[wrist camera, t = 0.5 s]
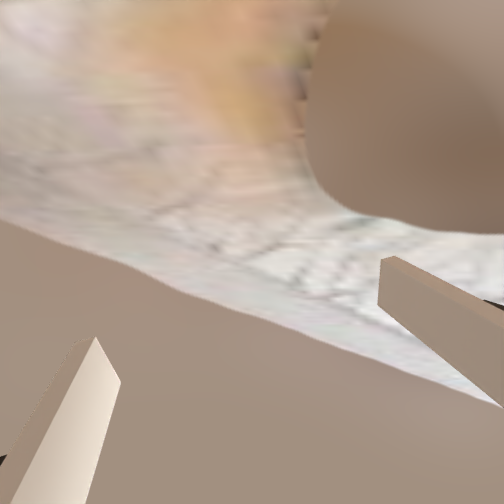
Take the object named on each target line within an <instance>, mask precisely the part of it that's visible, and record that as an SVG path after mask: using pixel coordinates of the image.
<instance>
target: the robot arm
mask: <svg viewBox="0 0 504 504" xmlns="http://www.w3.org/2000/svg"><path fill="white" fill-rule="evenodd" d="M378 306H379V307H380V308H381V309H383V310H384V311H385V312H386V313H388V314H389V315H390V316H391V317H393V318H394V319H395V320H396V321H397V322H399V323H400V324H401V325H402V326H404V327H405V328H406V329H407V330H408V331H410V332H411V333H412V334H413V335H415V336H416V337H417V338H418V339H420V340H421V341H422V342H423V343H424V344H426V345H427V346H428V347H429V348H431V349H432V350H433V351H434V352H435V353H437V354H438V355H439V356H440V357H442V358H443V359H444V360H445V361H447V362H448V363H449V364H450V365H451V366H453V367H454V368H455V369H456V370H458V371H459V372H460V373H461V374H462V375H464V376H465V377H466V378H467V379H469V380H470V381H471V382H472V383H474V384H475V385H476V386H477V387H478V388H480V389H481V390H482V391H483V392H485V393H486V394H487V395H488V396H489V397H491V398H492V399H493V400H494V401H496V402H497V403H498V404H499V405H501V406H502V407H503V408H504V306H503V305H500V304H497V303H493V302H490V301H487V300H481V299H479V298H477V297H475V296H473V295H471V294H469V293H467V292H465V291H463V290H461V289H459V288H457V287H455V286H453V285H451V284H449V283H447V282H445V281H443V280H441V279H440V278H438V277H436V276H434V275H432V274H430V273H428V272H426V271H424V270H422V269H420V268H418V267H416V266H414V265H412V264H410V263H408V262H406V261H404V260H402V259H400V258H398V257H396V256H392V257H388V258H385V259H381V265H380V279H379V292H378ZM120 384H121V382H120V380H119V378H118V376H117V374H116V373H115V371H114V369H113V367H112V366H111V364H110V362H109V360H108V358H107V356H106V355H105V353H104V351H103V349H102V347H101V346H100V344H99V342H98V340H97V338H96V337H91V338H88V339H85V340H80V341H77V342H75V343H74V345H73V346H72V348H71V350H70V351H69V353H68V355H67V356H66V358H65V360H64V361H63V363H62V365H61V366H60V368H59V370H58V371H57V373H56V375H55V376H54V378H53V380H52V381H51V383H50V385H49V386H48V388H47V390H46V391H45V393H44V395H43V396H42V398H41V400H40V401H39V403H38V404H37V406H36V408H35V409H34V411H33V413H32V414H31V416H30V418H29V419H28V421H27V423H26V424H25V426H24V428H23V430H22V431H21V433H20V434H19V436H18V438H17V440H16V441H15V443H14V444H13V446H12V448H11V450H10V451H9V453H8V454H7V455H4V456H1V457H0V504H85V502H86V499H87V495H88V492H89V489H90V485H91V482H92V479H93V475H94V472H95V468H96V465H97V462H98V458H99V455H100V452H101V448H102V445H103V442H104V438H105V435H106V431H107V428H108V424H109V421H110V418H111V414H112V411H113V407H114V404H115V401H116V397H117V394H118V391H119V387H120Z"/></svg>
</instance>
